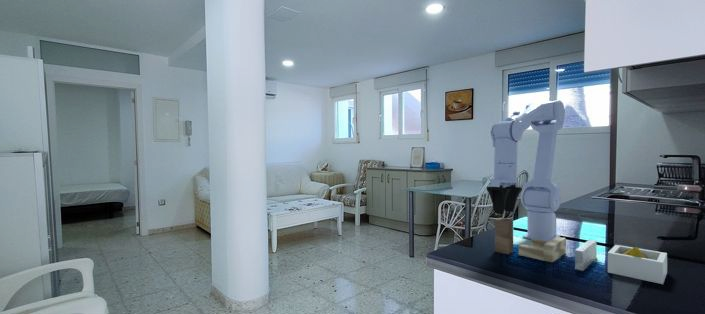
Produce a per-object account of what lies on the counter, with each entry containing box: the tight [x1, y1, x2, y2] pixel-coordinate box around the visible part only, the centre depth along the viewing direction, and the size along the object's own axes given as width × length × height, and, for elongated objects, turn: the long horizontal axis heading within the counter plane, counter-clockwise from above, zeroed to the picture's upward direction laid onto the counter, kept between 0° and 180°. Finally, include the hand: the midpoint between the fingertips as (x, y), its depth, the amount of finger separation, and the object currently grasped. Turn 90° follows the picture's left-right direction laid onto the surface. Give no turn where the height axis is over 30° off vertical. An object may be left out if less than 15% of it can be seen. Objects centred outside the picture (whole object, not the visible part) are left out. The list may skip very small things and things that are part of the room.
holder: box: [607, 244, 668, 285], centre depth 71 cm, size 9×9×4 cm
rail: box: [574, 239, 598, 272], centre depth 77 cm, size 13×2×4 cm, turn 131°
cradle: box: [518, 236, 567, 263], centre depth 85 cm, size 11×8×4 cm
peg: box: [494, 217, 514, 255], centre depth 88 cm, size 4×4×9 cm
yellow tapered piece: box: [620, 246, 649, 259], centre depth 71 cm, size 5×5×10 cm
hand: (504, 212), depth 87 cm, fingers open, 7 cm apart
